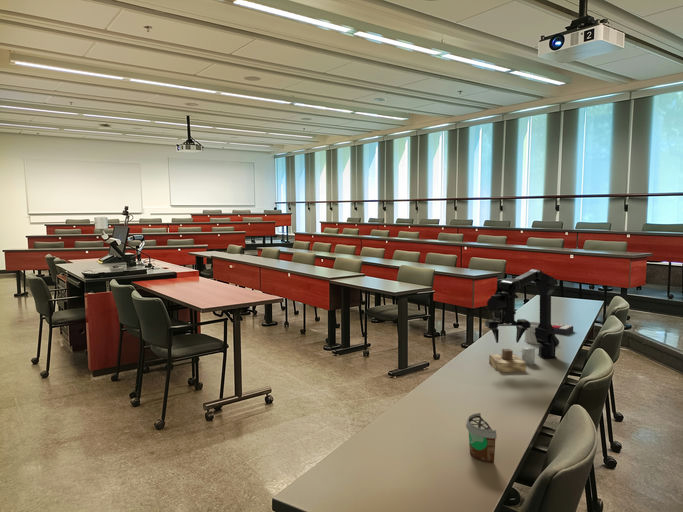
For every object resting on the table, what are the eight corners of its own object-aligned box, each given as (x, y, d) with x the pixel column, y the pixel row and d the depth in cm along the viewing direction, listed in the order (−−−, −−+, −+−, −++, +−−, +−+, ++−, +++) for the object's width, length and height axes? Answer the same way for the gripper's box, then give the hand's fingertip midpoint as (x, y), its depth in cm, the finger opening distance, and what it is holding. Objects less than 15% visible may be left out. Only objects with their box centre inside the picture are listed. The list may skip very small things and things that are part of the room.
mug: (524, 343, 245) (524, 325, 244) (524, 338, 255) (524, 320, 254) (552, 346, 240) (552, 327, 239) (551, 340, 250) (551, 322, 249)
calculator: (547, 322, 278) (573, 324, 267) (547, 329, 278) (573, 332, 267) (539, 325, 270) (566, 328, 260) (539, 332, 271) (566, 335, 260)
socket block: (514, 362, 215) (514, 354, 215) (525, 371, 203) (525, 362, 203) (489, 363, 215) (489, 354, 214) (498, 371, 203) (499, 363, 202)
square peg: (509, 365, 211) (509, 348, 210) (512, 368, 207) (512, 351, 206) (501, 366, 210) (502, 348, 210) (504, 368, 207) (505, 351, 206)
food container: (459, 444, 140) (460, 413, 139) (479, 443, 141) (479, 412, 140) (474, 466, 128) (475, 432, 127) (496, 465, 128) (496, 431, 128)
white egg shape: (531, 360, 217) (531, 346, 216) (536, 364, 212) (537, 349, 211) (519, 361, 217) (520, 346, 216) (524, 365, 211) (525, 350, 211)
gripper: (520, 304, 215) (520, 337, 216) (481, 305, 214) (480, 338, 215) (531, 309, 203) (530, 344, 205) (489, 310, 203) (489, 344, 204)
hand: (507, 342), depth 208 cm, fingers open, 9 cm apart
